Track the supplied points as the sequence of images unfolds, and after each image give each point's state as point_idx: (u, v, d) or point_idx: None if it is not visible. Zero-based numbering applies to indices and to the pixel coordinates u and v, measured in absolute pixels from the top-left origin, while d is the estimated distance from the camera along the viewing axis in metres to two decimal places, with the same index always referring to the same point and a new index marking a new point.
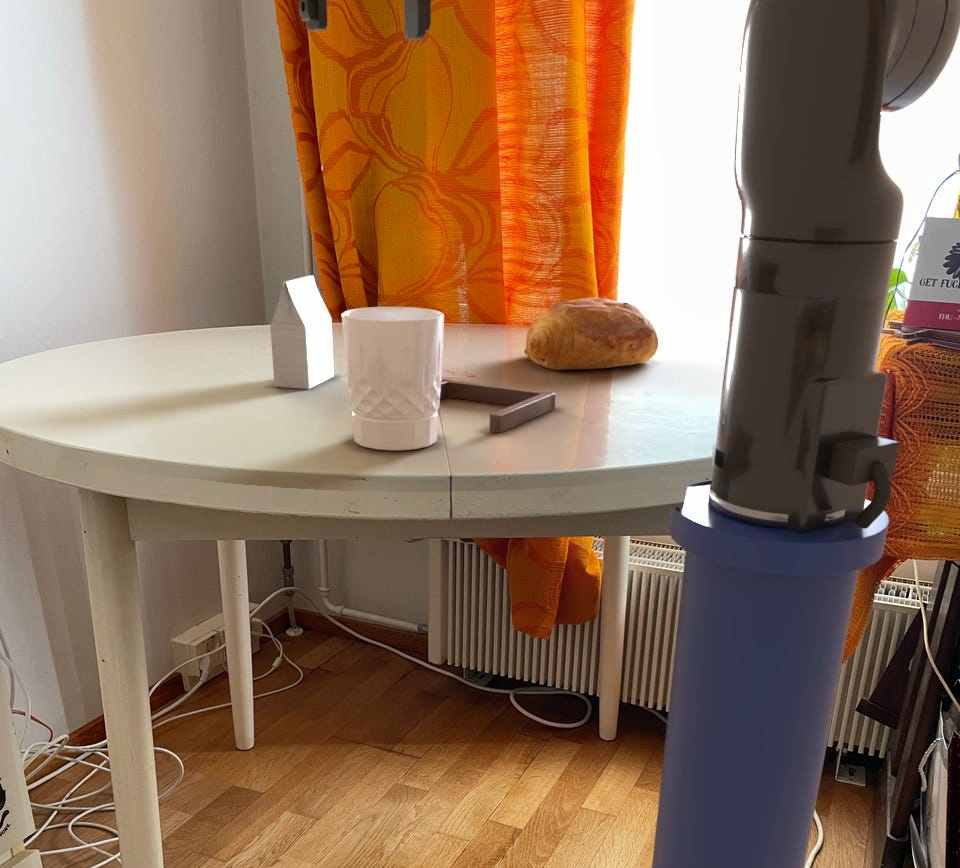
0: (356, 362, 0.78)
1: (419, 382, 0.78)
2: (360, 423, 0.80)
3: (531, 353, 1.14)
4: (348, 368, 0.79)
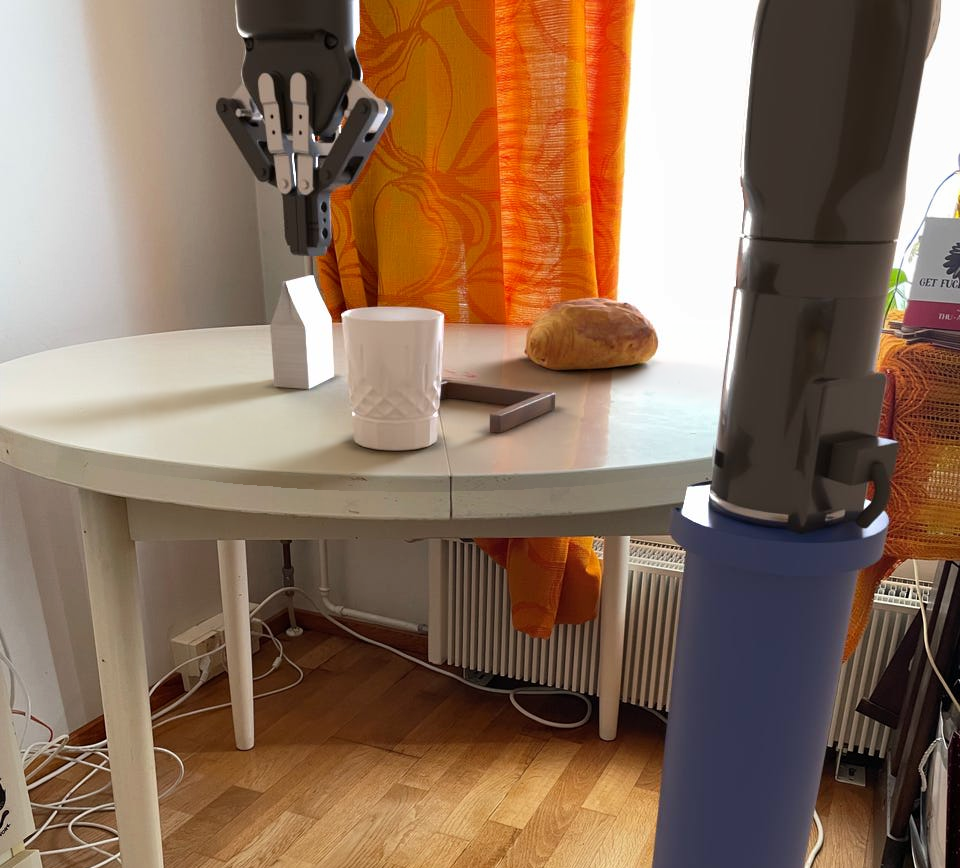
0: (356, 362, 0.78)
1: (419, 382, 0.78)
2: (360, 423, 0.80)
3: (531, 353, 1.14)
4: (348, 368, 0.79)
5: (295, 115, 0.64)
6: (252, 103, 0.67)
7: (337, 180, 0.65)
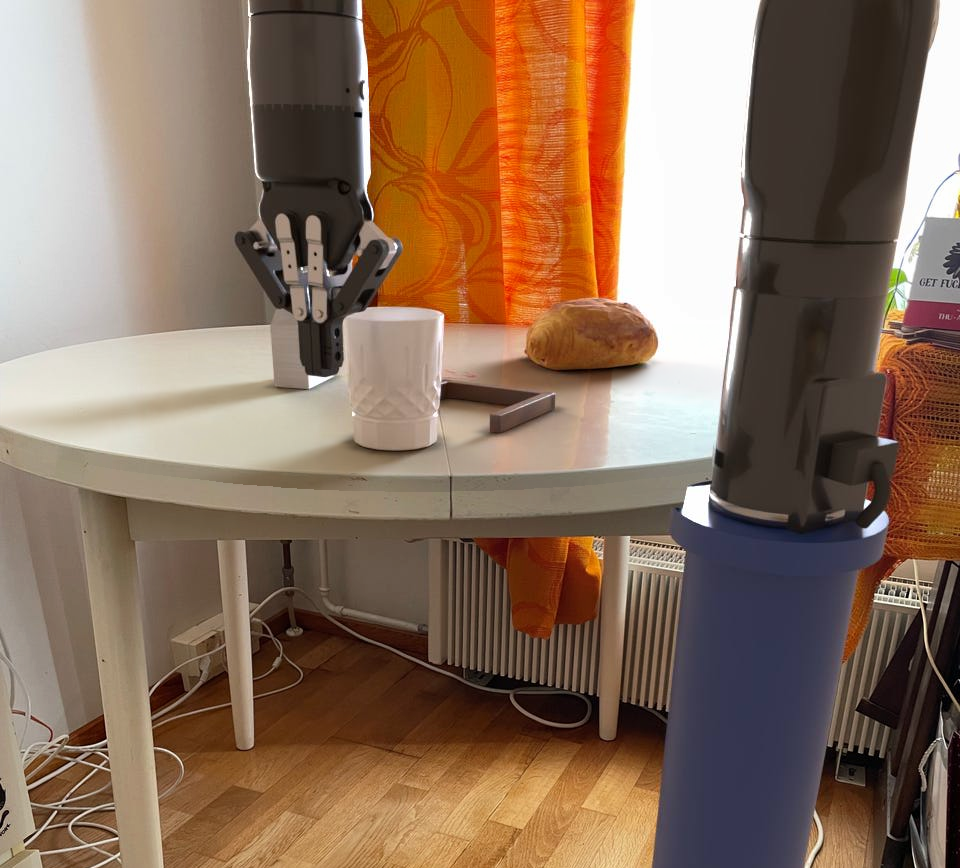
0: (356, 362, 0.78)
1: (419, 382, 0.78)
2: (360, 423, 0.80)
3: (531, 353, 1.14)
4: (348, 368, 0.79)
5: (310, 253, 0.68)
6: (269, 236, 0.71)
7: (350, 311, 0.69)
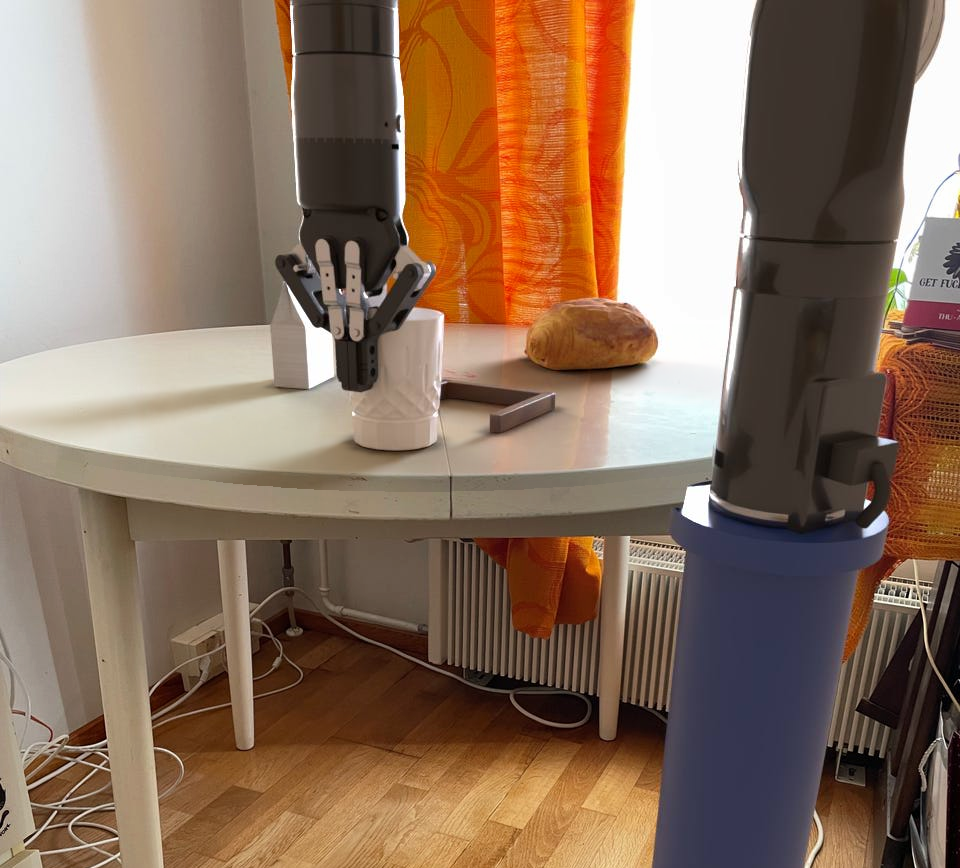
0: None
1: (419, 382, 0.78)
2: (360, 423, 0.80)
3: (531, 353, 1.14)
4: None
5: (348, 275, 0.72)
6: (307, 259, 0.75)
7: (385, 330, 0.73)
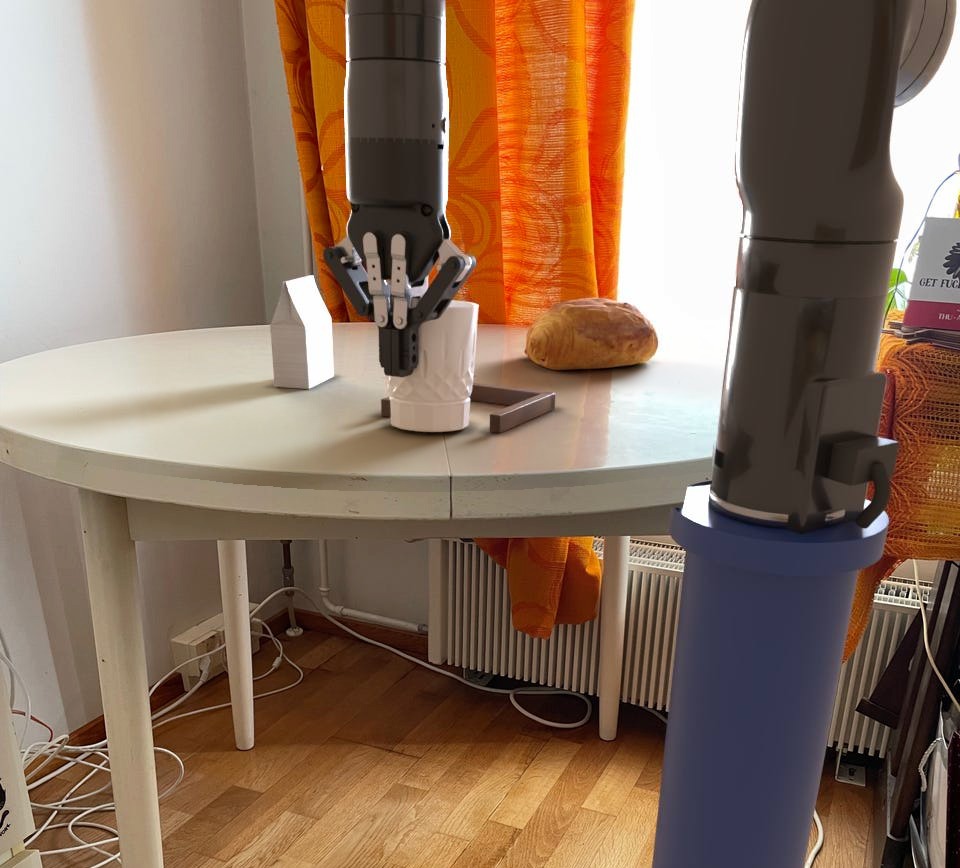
0: None
1: (456, 367, 0.83)
2: (398, 406, 0.85)
3: (531, 353, 1.14)
4: None
5: (394, 267, 0.77)
6: (354, 251, 0.80)
7: (427, 318, 0.78)
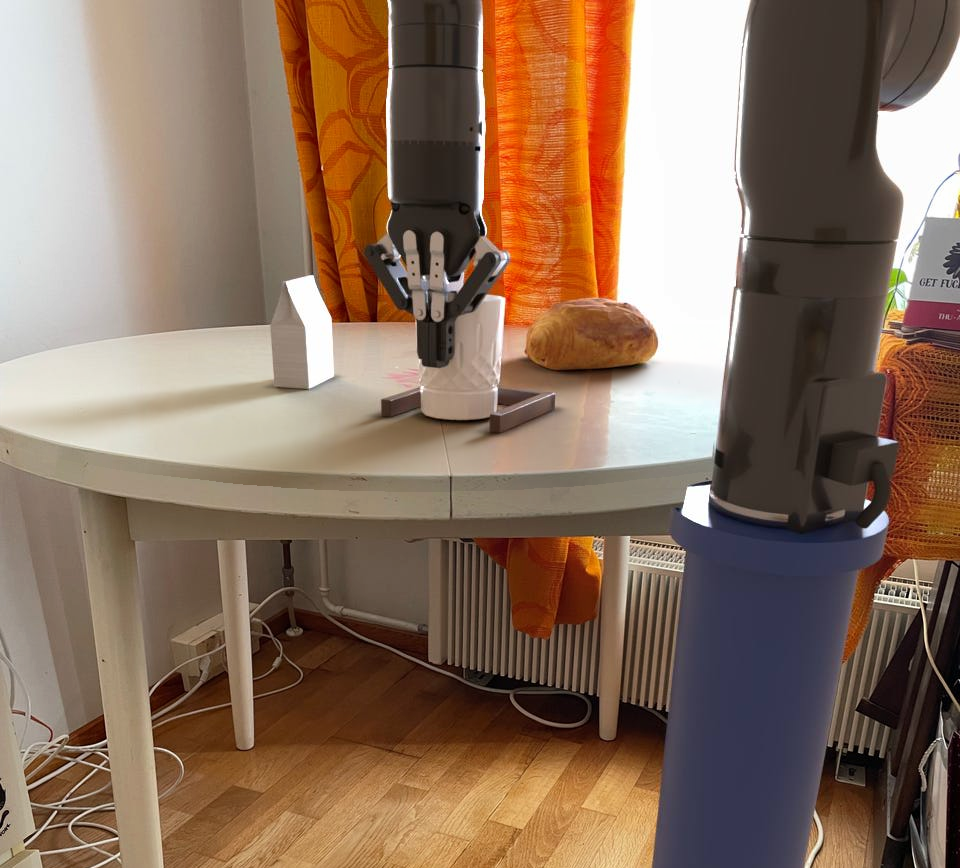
0: None
1: (489, 357, 0.88)
2: (433, 396, 0.89)
3: (531, 353, 1.14)
4: None
5: (432, 263, 0.81)
6: (393, 248, 0.84)
7: (464, 312, 0.82)
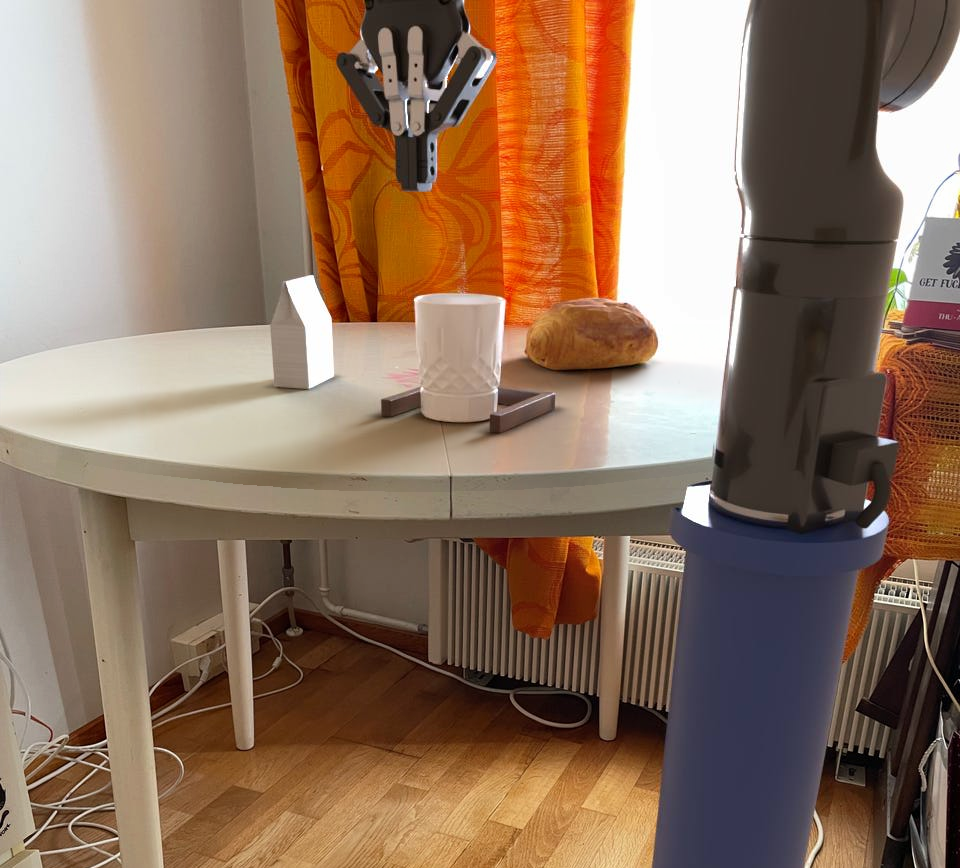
0: (432, 343, 0.87)
1: (489, 359, 0.88)
2: (434, 399, 0.89)
3: (531, 353, 1.14)
4: (422, 349, 0.88)
5: (411, 64, 0.73)
6: (368, 57, 0.76)
7: (446, 122, 0.74)
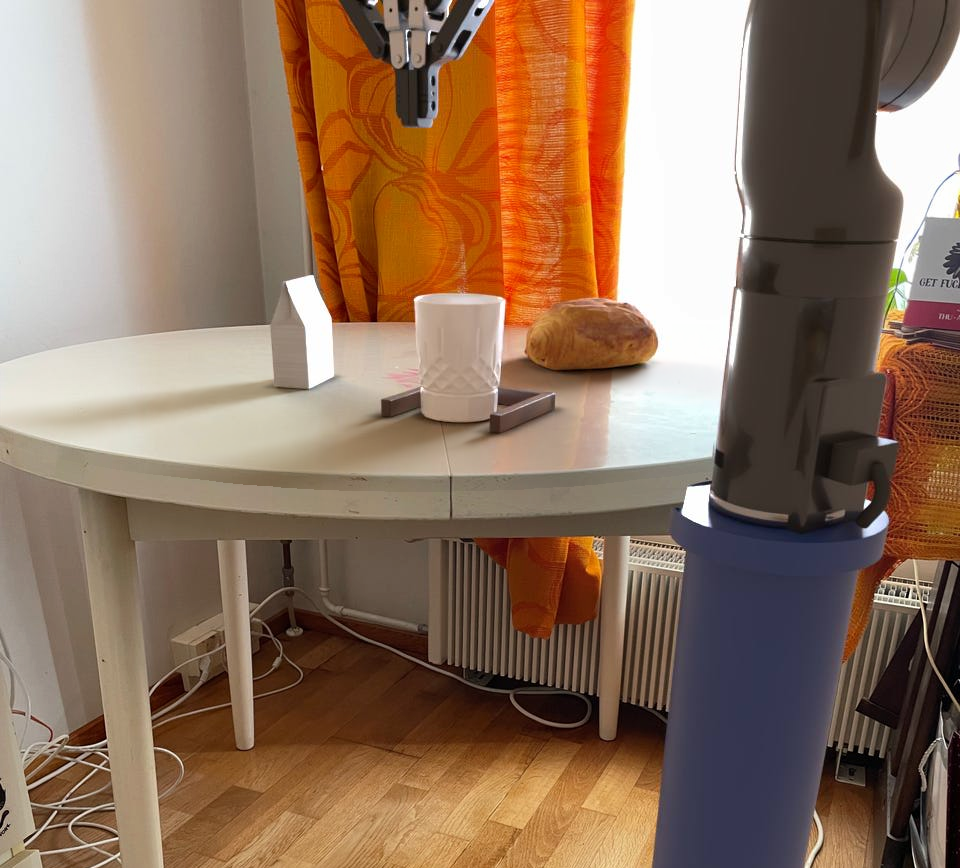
0: (432, 343, 0.87)
1: (489, 359, 0.88)
2: (433, 399, 0.89)
3: (531, 353, 1.14)
4: (422, 349, 0.88)
5: None
6: None
7: (448, 53, 0.73)
